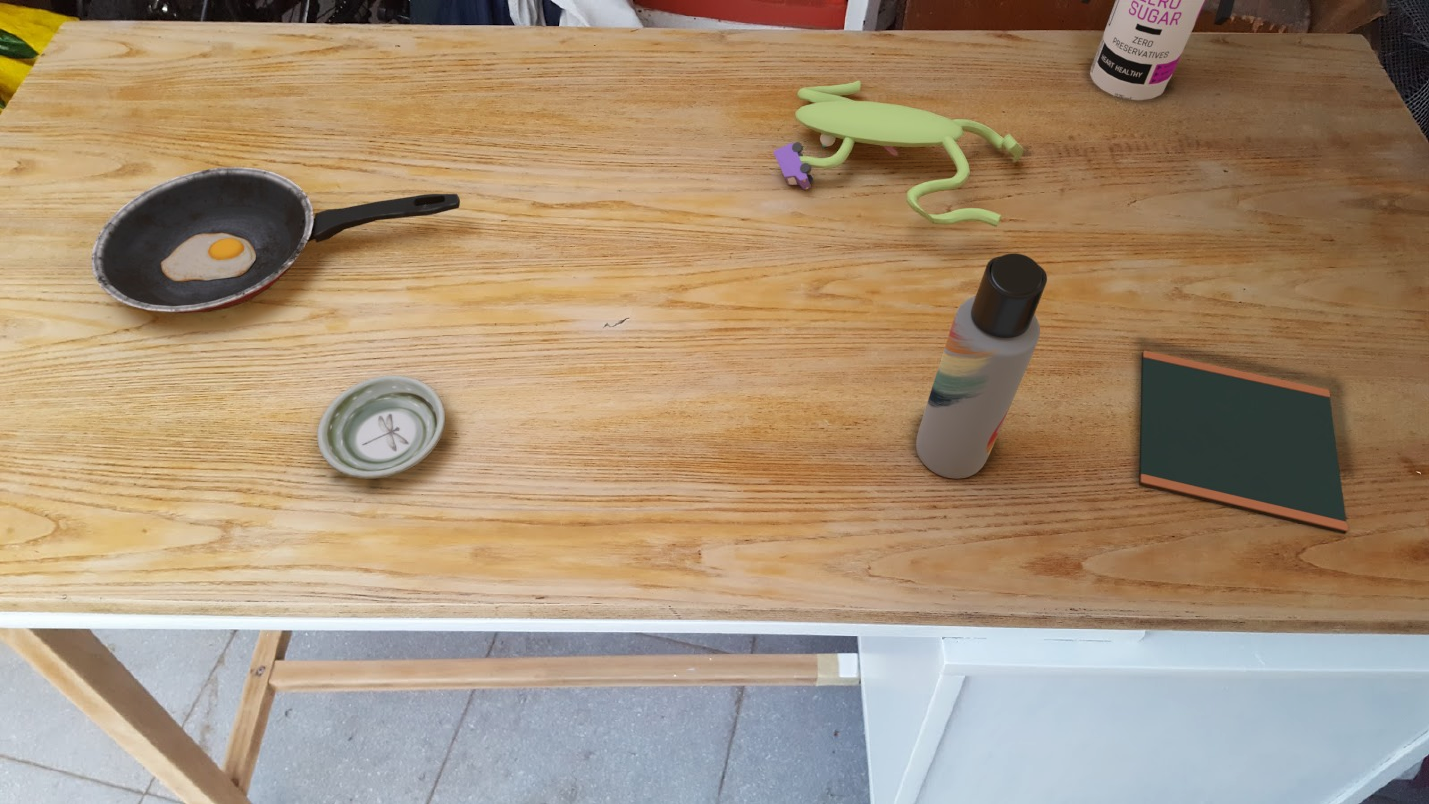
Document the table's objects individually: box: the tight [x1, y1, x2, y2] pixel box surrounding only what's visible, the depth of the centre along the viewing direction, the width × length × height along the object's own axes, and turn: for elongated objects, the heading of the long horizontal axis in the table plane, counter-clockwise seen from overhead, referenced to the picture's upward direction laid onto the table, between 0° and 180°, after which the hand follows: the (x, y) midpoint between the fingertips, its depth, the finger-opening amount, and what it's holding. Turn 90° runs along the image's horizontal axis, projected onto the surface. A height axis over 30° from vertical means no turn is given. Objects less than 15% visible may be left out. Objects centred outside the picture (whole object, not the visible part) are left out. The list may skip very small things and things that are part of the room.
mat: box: [1138, 350, 1349, 534], centre depth 76 cm, size 15×14×1 cm
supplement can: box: [1089, 0, 1207, 101], centre depth 100 cm, size 8×8×15 cm
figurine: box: [772, 79, 1024, 228], centre depth 94 cm, size 18×27×6 cm
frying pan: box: [90, 166, 461, 315], centre depth 87 cm, size 19×32×4 cm, turn 102°
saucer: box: [316, 375, 446, 480], centre depth 74 cm, size 10×10×2 cm
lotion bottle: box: [915, 252, 1048, 480], centre depth 67 cm, size 6×6×20 cm
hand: (1153, 10), depth 99 cm, fingers open, 13 cm apart
